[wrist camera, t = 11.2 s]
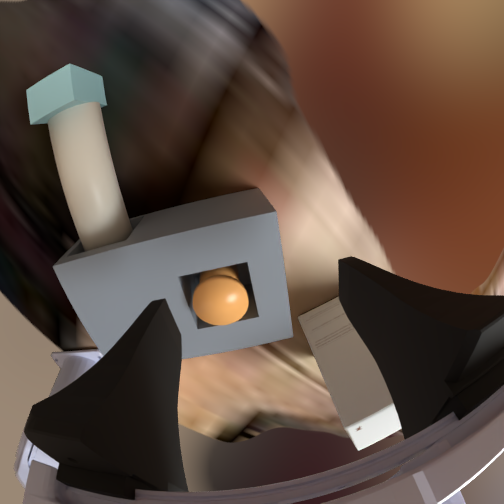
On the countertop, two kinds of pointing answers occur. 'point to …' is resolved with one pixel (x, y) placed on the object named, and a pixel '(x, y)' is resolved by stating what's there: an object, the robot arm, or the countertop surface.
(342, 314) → the supplement box
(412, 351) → the robot arm
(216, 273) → the plunger
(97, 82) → the cartridge
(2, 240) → the countertop surface
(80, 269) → the housing
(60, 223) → the countertop surface
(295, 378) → the countertop surface
